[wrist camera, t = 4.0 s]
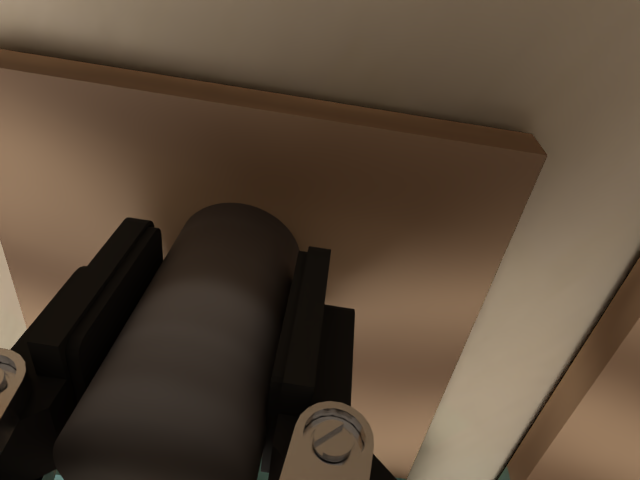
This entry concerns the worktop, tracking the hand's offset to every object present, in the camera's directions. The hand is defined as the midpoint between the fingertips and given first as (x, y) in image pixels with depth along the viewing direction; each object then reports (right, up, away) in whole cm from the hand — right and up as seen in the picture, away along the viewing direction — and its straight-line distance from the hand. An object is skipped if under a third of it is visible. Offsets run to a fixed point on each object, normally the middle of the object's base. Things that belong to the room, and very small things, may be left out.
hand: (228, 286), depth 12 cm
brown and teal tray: (-1, -6, +7) cm, 9 cm away
